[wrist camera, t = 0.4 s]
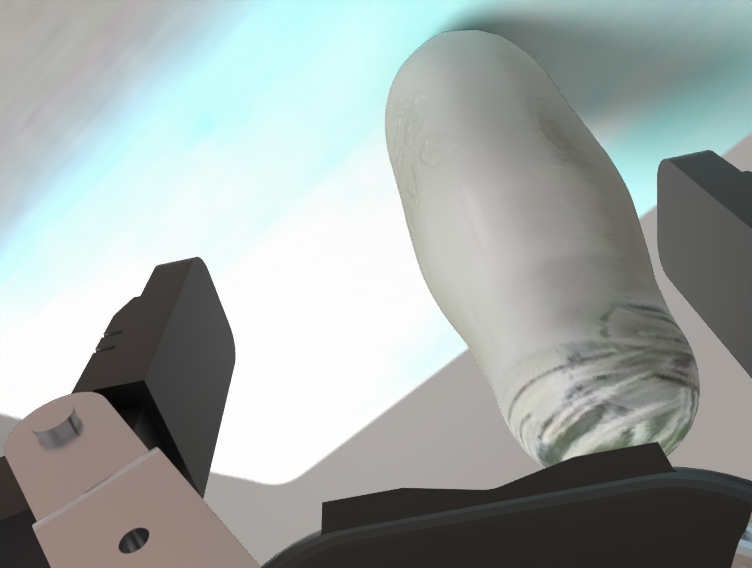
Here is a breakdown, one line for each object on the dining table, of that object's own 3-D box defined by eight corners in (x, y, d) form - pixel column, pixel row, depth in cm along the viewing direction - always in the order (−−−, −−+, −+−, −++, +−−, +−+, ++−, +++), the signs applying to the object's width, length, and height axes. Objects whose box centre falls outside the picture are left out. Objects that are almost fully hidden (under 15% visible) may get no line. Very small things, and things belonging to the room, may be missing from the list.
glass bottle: (512, 139, 48) (709, 509, 28) (368, 149, 47) (471, 543, 27) (539, -2, 41) (826, 360, 21) (371, 5, 40) (513, 396, 20)
